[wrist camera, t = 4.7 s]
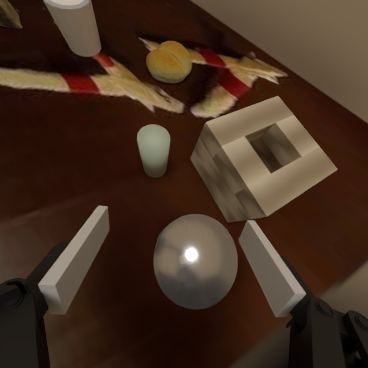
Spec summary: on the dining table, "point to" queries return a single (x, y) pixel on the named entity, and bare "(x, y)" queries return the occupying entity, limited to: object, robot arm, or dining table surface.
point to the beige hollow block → (258, 160)
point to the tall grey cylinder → (195, 261)
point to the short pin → (154, 149)
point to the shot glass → (76, 25)
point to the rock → (9, 15)
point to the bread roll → (169, 62)
